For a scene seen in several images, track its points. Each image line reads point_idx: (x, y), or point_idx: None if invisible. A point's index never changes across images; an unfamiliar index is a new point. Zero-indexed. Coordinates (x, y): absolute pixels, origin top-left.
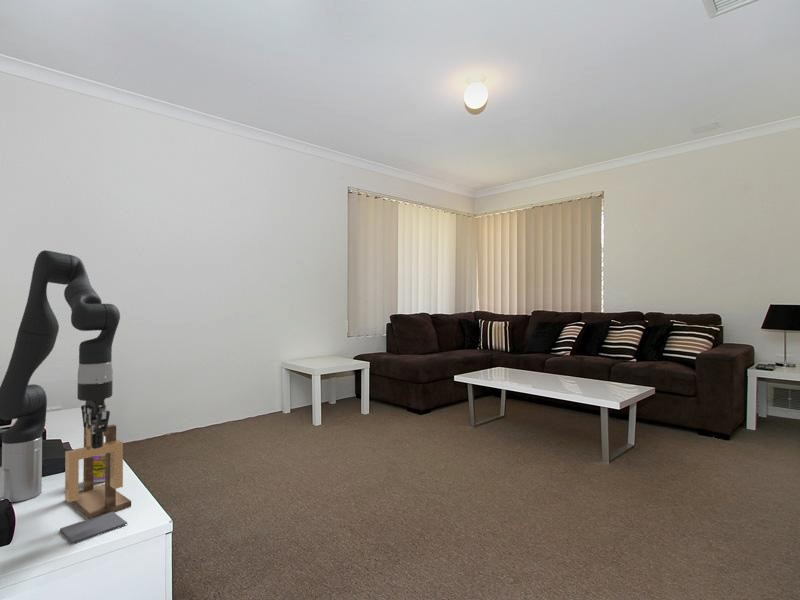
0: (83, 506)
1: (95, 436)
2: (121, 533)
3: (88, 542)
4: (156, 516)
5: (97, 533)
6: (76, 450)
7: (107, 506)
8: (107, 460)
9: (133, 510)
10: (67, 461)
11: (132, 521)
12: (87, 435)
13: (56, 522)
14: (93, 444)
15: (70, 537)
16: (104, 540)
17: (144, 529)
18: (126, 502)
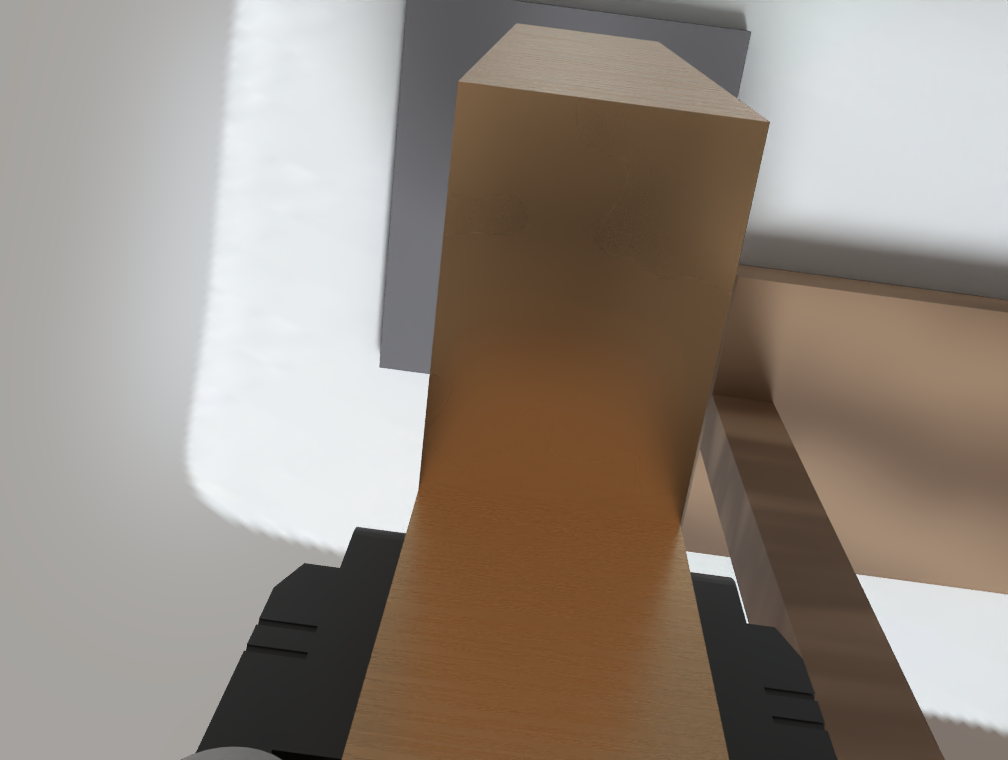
0: (948, 312)
1: (215, 737)
2: (280, 273)
3: (336, 72)
4: (341, 526)
5: (396, 167)
6: (596, 300)
7: (716, 401)
8: (820, 663)
9: None
10: (584, 77)
11: (407, 406)
12: (619, 705)
13: (948, 85)
14: (343, 582)
15: (498, 10)
16: (269, 154)
17: (209, 386)
18: (685, 519)
